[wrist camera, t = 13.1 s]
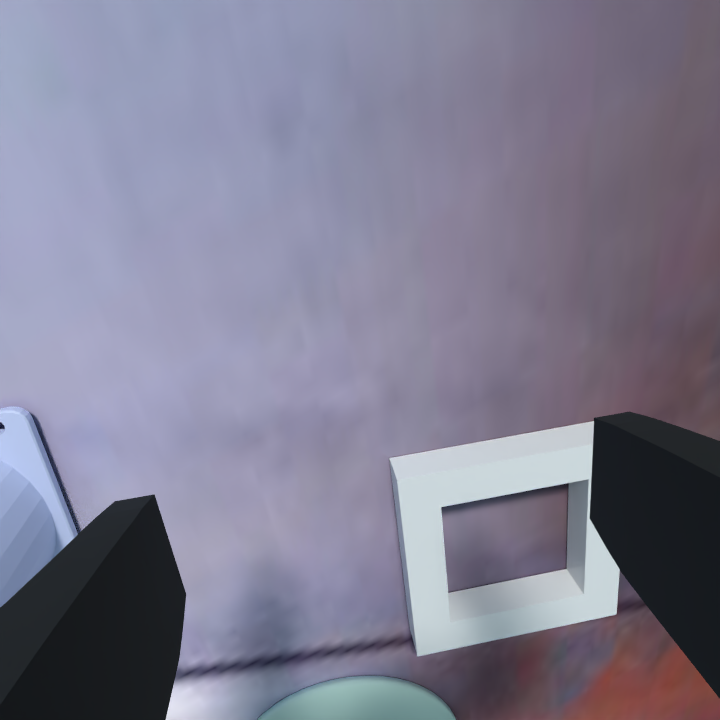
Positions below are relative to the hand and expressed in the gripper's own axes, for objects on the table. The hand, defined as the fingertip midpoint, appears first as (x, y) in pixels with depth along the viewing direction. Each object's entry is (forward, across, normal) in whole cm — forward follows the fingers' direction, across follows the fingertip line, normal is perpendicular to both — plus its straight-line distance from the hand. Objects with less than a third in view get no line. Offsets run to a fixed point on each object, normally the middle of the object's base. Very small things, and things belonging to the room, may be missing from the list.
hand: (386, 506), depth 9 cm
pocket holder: (+10, -6, +10) cm, 16 cm away
